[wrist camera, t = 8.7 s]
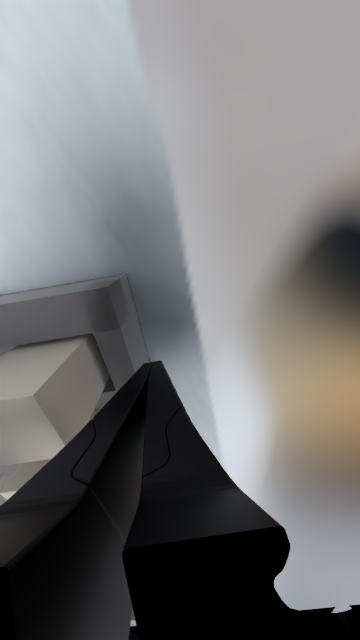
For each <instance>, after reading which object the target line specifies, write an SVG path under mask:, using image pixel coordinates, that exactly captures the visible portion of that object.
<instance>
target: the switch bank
mask: <svg viewBox="0 0 360 640" xmlns="http://www.w3.org/2000/svg"><path fill="white" fill-rule="evenodd" d="M91 333H93V335H94V337H95V340H96V342H97V345H98V347H99V350H100V352H101V355H102V357H103V360H104V362H105V365H106V367H107V370H108V372H109V375H110V377H109V379H108V381H107V384H106V386H105V388H104V390H103V392H102V394H101V396H100V398H99V401H98V403H97V405H96V407H95V409H94V410H96V409H101V408H102V407H103V406H104V405H105V404H106V403H107V402H108V401H109V400H110V399H111V398H112V397H113V396H114V395H115V394H116V392H117V391H118V390H119V389H120V388H121V387H122V386H123V385H124V384H125V383H126V382H127V381H128V380H129V379H130V378H131V376H132V375H133V374H134V373H135V372H136V371H137V370H138V369H139V368H140V367H141V366H142V365H143V364H144V363H148V362H150V360H149V356H148V352H147V349H146V345H145V341H144V338H143V334H142V330H141V327H140V323H139V319H138V316H137V312H136V309H135V305H134V301H133V298H132V294H131V290H130V287H129V283H128V279H127V276H126V274H124V275H118V276H112V277H106V278H101V279H95V280H89V281H83V282H77V283H71V284H65V285H59V286H53V287H47V288H41V289H35V290H29V291H23V292H17V293H11V294H5V295H0V356H2V355H3V354H5V353H6V352H8V351H10V350H11V349H13V348H14V347H16V346H17V345H23V344H29V343H35V342H41V341H48V340H54V339H60V338H66V337H73V336H79V335H85V334H91ZM19 465H20V463H19V464H12V465H5V466H0V475H6V474H13V473H14V472H15V470H16V469H17V468H18V466H19Z"/></svg>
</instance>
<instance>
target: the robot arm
mask: <svg viewBox="0 0 360 640" xmlns="http://www.w3.org/2000/svg"><path fill="white" fill-rule="evenodd" d="M289 551H290V543H289V540H288V537H287V534H286V531H285V529H284V528H283V527H282V526H281V525H280V524H279V523H278V522H276V521H275V520H274V519H273V518H272V517H271V516H270V515H269V514H267V513H266V512H265V511H264V510H263V509H262V508H261V507H259V506H258V505H257V504H256V503H255V502H254V501H253V500H251V499H250V498H249V497H248V496H247V495H246V494H245V493H243V491H241V490H240V489H239V487H237V485H236V484H235V483H234V482H233V481H232V479H231V478H230V477H229V475H228V474H227V473H226V472H225V470H224V469H223V467H222V466H221V465H220V463H219V462H218V460H217V459H216V457H215V456H214V455H213V453H212V452H211V450H210V449H209V447H208V446H207V445H206V443H205V442H204V440H203V439H202V437H201V436H200V434H199V433H198V431H197V430H196V428H195V427H194V425H193V423H192V422H191V420H190V418H189V416H188V414H187V412H186V410H185V408H184V406H183V404H182V402H181V400H180V398H179V396H178V394H177V392H176V390H175V388H174V386H173V383H172V381H171V379H170V377H169V375H168V373H167V371H166V369H165V367H164V365H163V363H162V361H155V362H153V363H152V362H148V363H144V364H143V365H142V366H141V367H140V368H139V369H138V370H137V371H136V372H135V373H134V374H133V375H132V376H131V378H130V379H129V380H128V381H127V382H126V383H125V384H124V385H123V386H122V387H121V388H120V389H119V390H118V391H117V392H116V394H115V395H114V396H113V397H112V398H111V399H110V400H109V401H108V402H107V403H106V404H105V405H104V406H103V407H102V408H101V409H100V411H99V412H98V413H97V414H96V415H95V416H94V417H93V419H91V420H90V421H89V422H88V423H87V424H86V425H85V426H84V427H83V429H82V430H81V431H80V432H79V433H78V434H77V435H76V436H75V437H74V438H73V439H72V440H71V441H70V442H69V443H68V444H67V445H66V446H65V447H64V448H62V449H61V450H60V451H59V452H58V453H57V454H56V455H55V456H54V457H53V458H52V459H51V460H50V461H49V462H48V463H47V464H46V465H44V466H43V467H42V468H41V469H40V470H39V471H38V472H37V473H36V474H35V475H34V476H33V477H32V478H31V479H29V480H28V481H27V482H26V483H25V484H24V485H23V486H22V487H21V488H20V489H19V490H18V491H17V492H16V493H15V494H13V495H12V496H11V497H10V498H9V499H8V500H7V501H6V502H4V503H3V504H2V505H1V506H0V640H360V605H351V606H350V607H351V608H352V609H351V610H348V611H345V612H339V613H331V612H332V611H333V609H334V608H335V607H332V608H321V609H311V610H301V611H298V610H295V609H291V608H289V607H288V606H287V605H286V604H285V603H284V602H283V601H282V600H281V598H280V597H279V595H278V593H277V592H276V590H275V588H274V579H275V577H276V576H277V575H278V574H279V573H280V572H281V571H282V570H283V568H284V566H285V564H286V561H287V558H288V555H289ZM132 620H135V622H136V626H130V623H131V621H132Z"/></svg>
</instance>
